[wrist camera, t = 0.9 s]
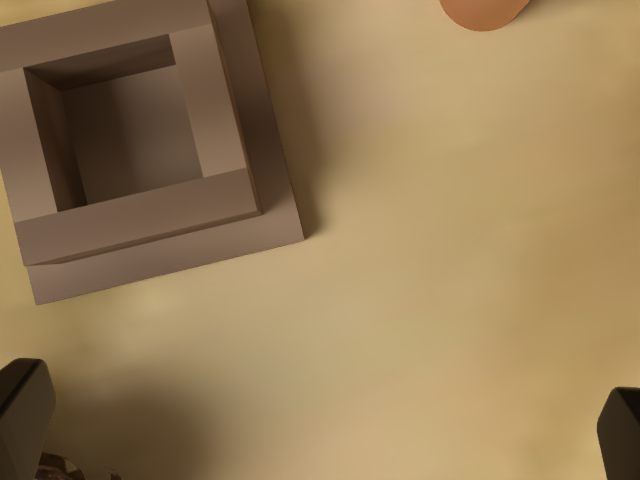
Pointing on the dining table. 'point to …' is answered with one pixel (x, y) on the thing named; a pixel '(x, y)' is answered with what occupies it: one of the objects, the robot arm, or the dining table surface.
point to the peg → (482, 12)
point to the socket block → (139, 143)
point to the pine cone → (61, 469)
